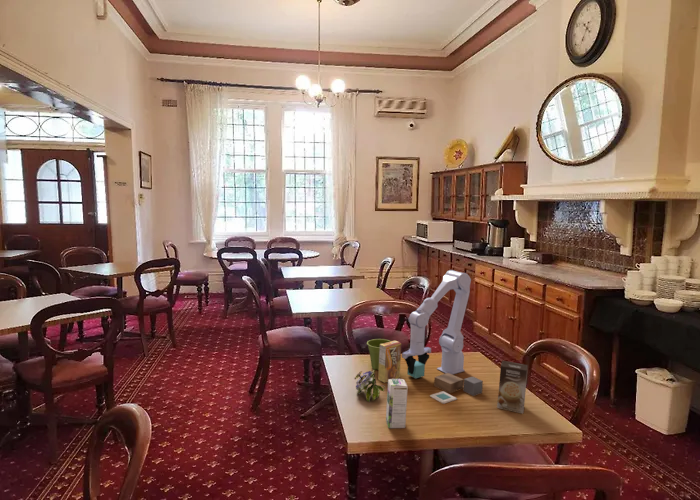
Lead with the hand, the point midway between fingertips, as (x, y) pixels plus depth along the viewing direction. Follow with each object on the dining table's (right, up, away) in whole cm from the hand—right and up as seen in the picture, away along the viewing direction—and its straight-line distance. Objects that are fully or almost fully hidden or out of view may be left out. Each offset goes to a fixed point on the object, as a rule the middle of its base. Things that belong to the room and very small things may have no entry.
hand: (415, 371), depth 183 cm
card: (+8, -5, -18) cm, 21 cm away
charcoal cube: (+20, -5, -12) cm, 24 cm away
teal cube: (0, -1, 0) cm, 1 cm away
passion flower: (-20, -4, -18) cm, 28 cm away
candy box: (-12, -3, -2) cm, 12 cm away
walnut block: (+12, -4, -9) cm, 15 cm away
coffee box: (+31, -6, -25) cm, 40 cm away
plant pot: (-15, -1, +10) cm, 18 cm away
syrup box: (-13, -7, -39) cm, 41 cm away
